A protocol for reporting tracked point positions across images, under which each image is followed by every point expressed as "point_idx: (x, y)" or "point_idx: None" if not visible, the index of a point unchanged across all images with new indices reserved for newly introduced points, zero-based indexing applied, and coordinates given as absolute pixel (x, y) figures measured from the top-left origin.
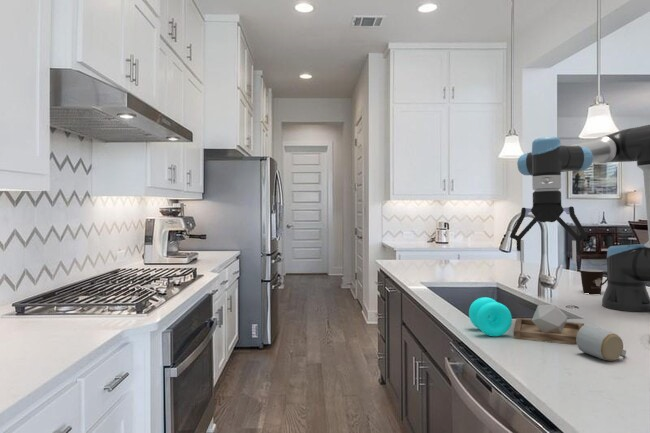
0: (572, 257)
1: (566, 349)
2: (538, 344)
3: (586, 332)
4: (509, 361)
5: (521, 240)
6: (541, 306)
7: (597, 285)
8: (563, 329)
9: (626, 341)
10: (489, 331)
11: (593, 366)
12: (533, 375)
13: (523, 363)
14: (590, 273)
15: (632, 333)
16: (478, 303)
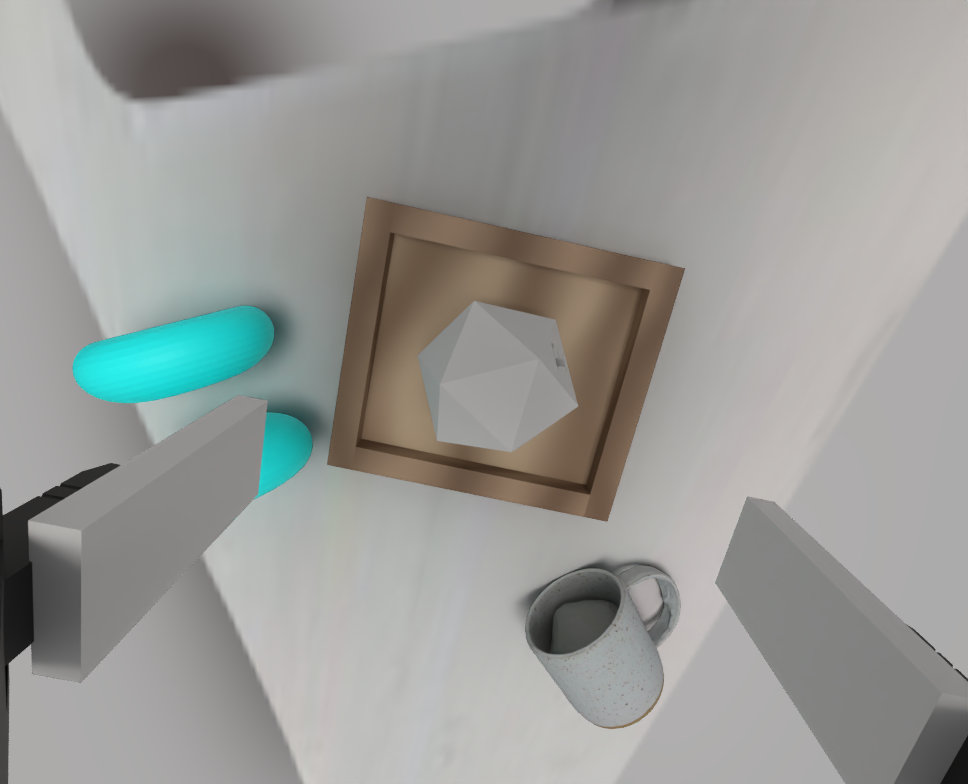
0: (772, 537)
1: (504, 556)
2: (419, 516)
3: (556, 678)
4: (300, 696)
5: (44, 622)
6: (454, 401)
7: None
8: (572, 305)
9: (774, 417)
10: None
11: (533, 696)
12: (353, 780)
13: (339, 704)
14: None
15: (875, 280)
16: (106, 399)
